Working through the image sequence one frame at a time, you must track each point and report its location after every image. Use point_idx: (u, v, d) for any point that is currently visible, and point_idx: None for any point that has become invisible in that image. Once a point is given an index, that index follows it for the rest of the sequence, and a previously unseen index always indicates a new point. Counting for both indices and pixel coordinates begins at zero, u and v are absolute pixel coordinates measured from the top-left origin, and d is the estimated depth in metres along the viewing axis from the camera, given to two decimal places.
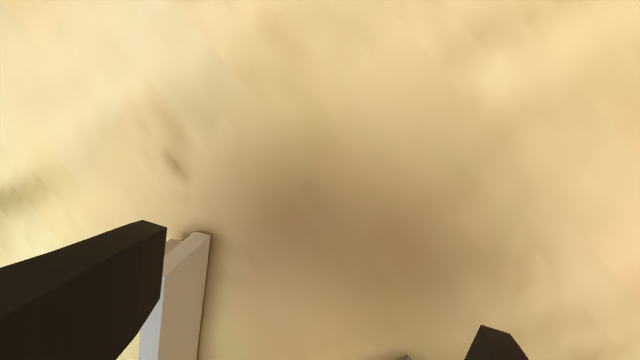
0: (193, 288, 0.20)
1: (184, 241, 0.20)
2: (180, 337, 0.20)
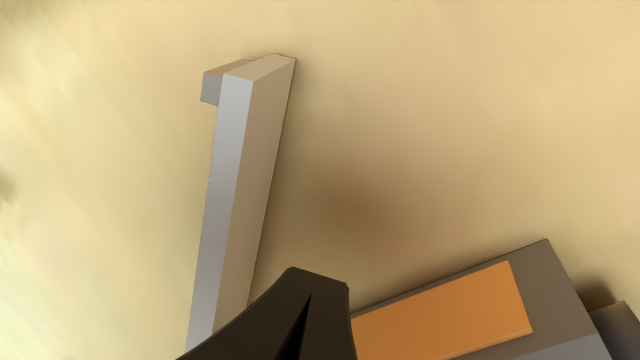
0: (272, 128, 0.15)
1: (264, 58, 0.14)
2: (254, 191, 0.15)
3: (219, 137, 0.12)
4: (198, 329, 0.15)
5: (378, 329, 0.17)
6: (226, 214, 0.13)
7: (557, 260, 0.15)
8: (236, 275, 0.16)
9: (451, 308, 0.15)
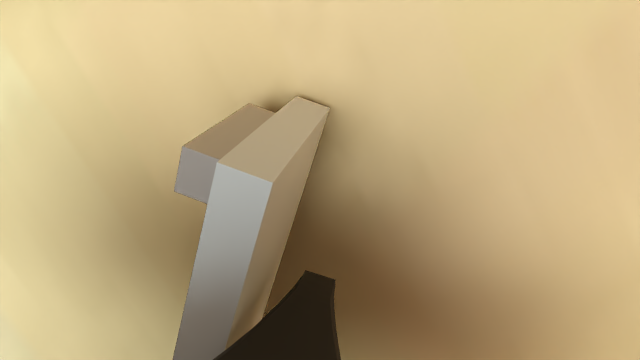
0: (288, 215, 0.10)
1: (284, 110, 0.09)
2: (253, 311, 0.10)
3: (202, 265, 0.07)
4: None
5: None
6: None
7: None
8: None
9: None
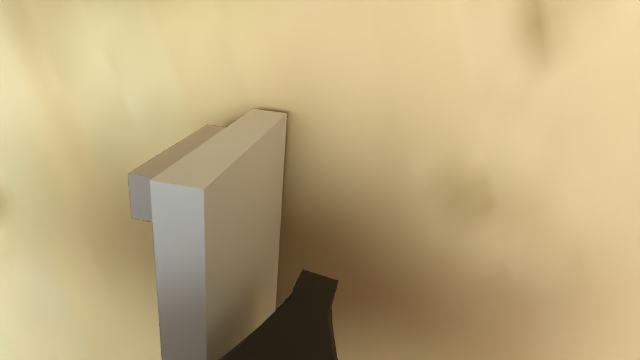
0: (263, 224, 0.10)
1: (236, 123, 0.09)
2: (248, 324, 0.10)
3: (165, 282, 0.07)
4: None
5: None
6: None
7: None
8: None
9: None
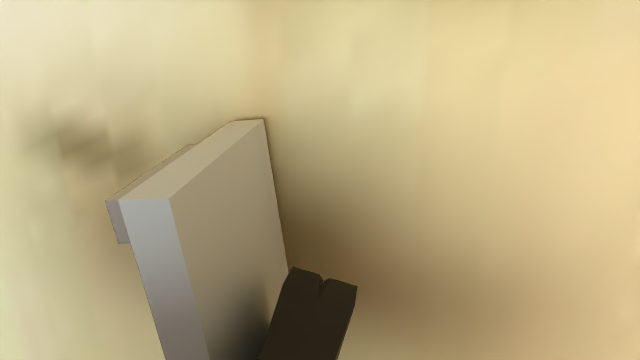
0: (258, 230, 0.10)
1: (211, 136, 0.09)
2: (260, 332, 0.10)
3: (156, 298, 0.07)
4: None
5: None
6: None
7: None
8: None
9: None
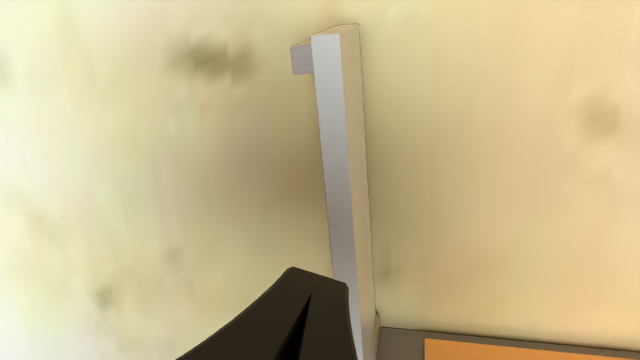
0: (357, 89, 0.16)
1: (333, 27, 0.15)
2: (357, 152, 0.16)
3: (321, 97, 0.13)
4: None
5: None
6: (344, 170, 0.14)
7: None
8: (362, 238, 0.17)
9: None
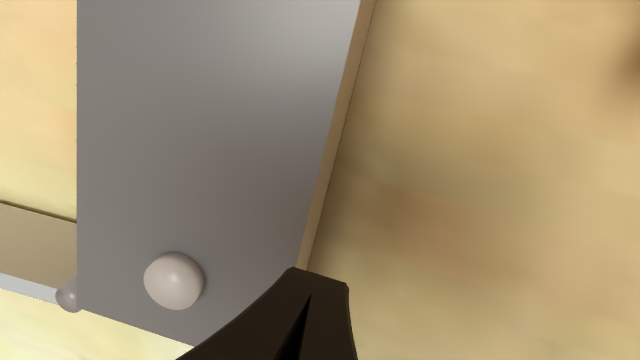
0: None
1: None
2: None
3: None
4: None
5: None
6: None
7: None
8: None
9: None
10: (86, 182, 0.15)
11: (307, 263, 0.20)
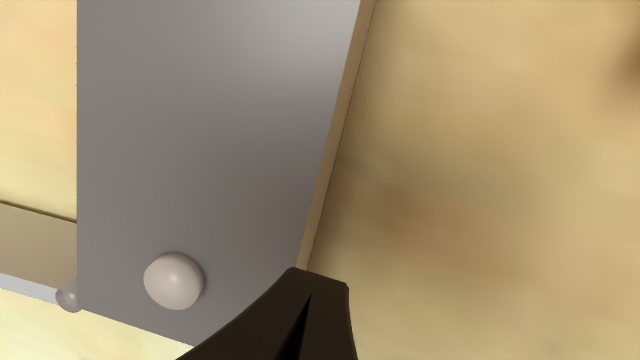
0: None
1: None
2: None
3: None
4: None
5: None
6: None
7: None
8: None
9: None
10: (86, 182, 0.15)
11: (307, 263, 0.20)
